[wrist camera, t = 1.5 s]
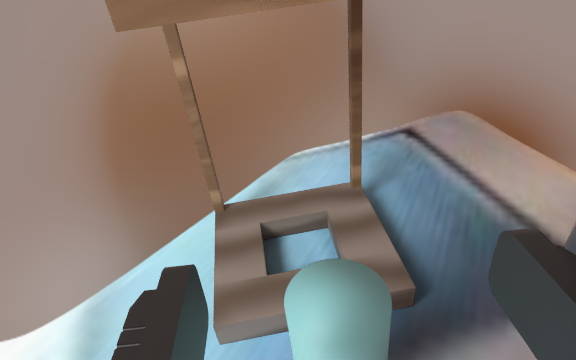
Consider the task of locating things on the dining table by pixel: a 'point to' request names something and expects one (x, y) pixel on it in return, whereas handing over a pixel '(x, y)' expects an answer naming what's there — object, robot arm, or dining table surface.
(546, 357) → the robot arm
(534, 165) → the dining table surface
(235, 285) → the tan frame
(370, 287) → the peg
